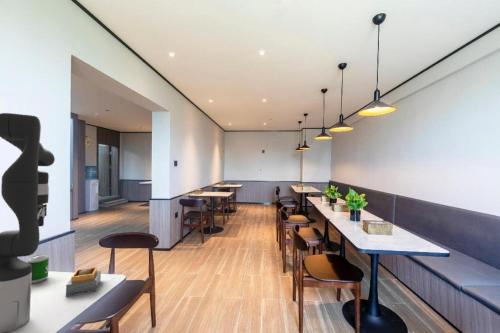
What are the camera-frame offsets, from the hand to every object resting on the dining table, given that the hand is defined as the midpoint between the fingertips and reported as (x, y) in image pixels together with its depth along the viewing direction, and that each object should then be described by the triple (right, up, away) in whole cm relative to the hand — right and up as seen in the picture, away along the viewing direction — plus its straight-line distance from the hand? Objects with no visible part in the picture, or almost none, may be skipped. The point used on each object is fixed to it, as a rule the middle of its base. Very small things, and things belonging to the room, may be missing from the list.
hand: (36, 228), depth 103 cm
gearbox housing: (+22, -28, +1) cm, 36 cm away
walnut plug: (+22, -28, +1) cm, 36 cm away
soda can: (-6, -29, +7) cm, 30 cm away
